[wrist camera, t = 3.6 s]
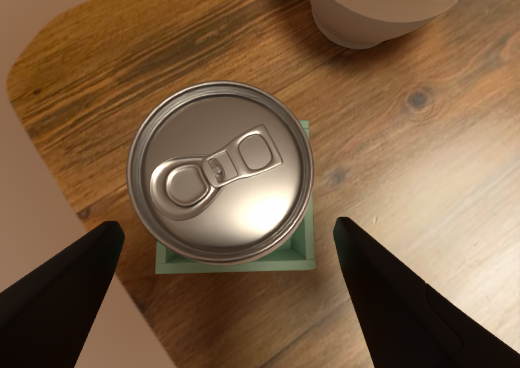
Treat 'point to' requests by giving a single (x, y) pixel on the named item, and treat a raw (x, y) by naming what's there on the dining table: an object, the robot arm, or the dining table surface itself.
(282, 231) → the can
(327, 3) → the bowl
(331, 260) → the dining table surface
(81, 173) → the dining table surface
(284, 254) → the tote
